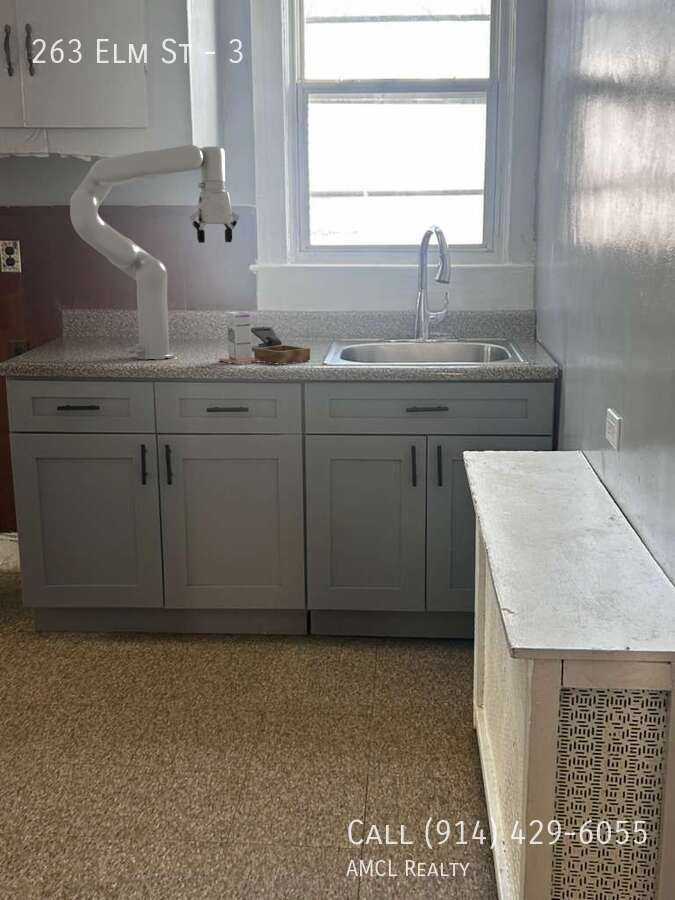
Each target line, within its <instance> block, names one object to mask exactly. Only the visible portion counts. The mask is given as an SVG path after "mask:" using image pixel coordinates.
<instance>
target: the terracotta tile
mask: <svg viewBox="0 0 675 900" xmlns="http://www.w3.org/2000/svg"><path fill="white" fill-rule="evenodd" d="M219 361H223V362H222V363H224V362H231V363H237V364H242V363H249V362H257V361H261V359H259V358H254V356H252V359H244V360H235V359H232V358H229V356H227V357H219V358H218V362H219ZM231 363H230V364H231ZM237 364H236V365H237ZM242 365H243V364H242Z"/></svg>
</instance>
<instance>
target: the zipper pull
mask: <svg viewBox="0 0 675 900" xmlns="http://www.w3.org/2000/svg"><path fill="white" fill-rule="evenodd" d="M252 333H253V335H254V336H256V337H257V338H258V339H259V340H261V342H262V343H258V347H257V348H262V347H270V346H279V345H283V343H282V341H281V340H280V338H279V337H278V336H277V334H276V333H275V331H274V329H273V328H272V326H270V327H269V326H260V327H258V326H257V327H251V334H252Z"/></svg>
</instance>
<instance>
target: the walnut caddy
mask: <svg viewBox="0 0 675 900" xmlns="http://www.w3.org/2000/svg"><path fill="white" fill-rule="evenodd" d="M253 350H254V351H253V354H254V355H253V357H254V358H259V359H261V361H265V362H271V363H278V364H284V363H292V364H294V363H293V362H300V363H302V362H301V361H307V362H309V361H308V360H310V361H311V348H309V347H302V346H297V345H296V346H293V345H287V344H281V345H279V346H270V347H262V348H258V347H256V348H255V347H254V348H253Z"/></svg>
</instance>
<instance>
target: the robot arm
mask: <svg viewBox="0 0 675 900" xmlns="http://www.w3.org/2000/svg"><path fill="white" fill-rule="evenodd" d="M225 153H226V151H225V150H224V148H223V147H221V146H204V147H198V146H196V145H194V144H185V145H180V146H179V145H178V146H175V147H174V146H173V147H168V148H163V149H157V150H147V151H144V150H143V151H139V152H133V153H128V154H123V155H115V156H111V157H106V158H100V159H99V160H96V161H95V162H94V164H92V166H91V168H90V170H88V171H89V172H88V173H87V174H86V176H85V177H84V179H83V180H82V181H81V183H80V184H79V186H78V187H77V189H75V191H74V192H73V194H72V196H71V197H70V202H69V203H70V205H69V207H70V208H69V211H70V212H69V214H70V220H71V224H72V226H73V228H74V230H75V231H76V233H77V235H78V236H79V237H80V238H81V239H82V240H83V241H85V242H86V243H87V244H88V245H89V246H91V247H92V248H93V249H94V250H96V251H98V253H100V254H101V255H103V256H104V257H105V258H106V259H108V261H109V262H110V263H111V264H112V265H114V266H115V267H117V268H118V269H120V271H122V272H124V273H125V274H126V275H128V276H129V277H130V278H132V279H133V280H135V281H136V306H137V325H138V327H137V329H138V343H135V346H132V347H126V349H125V352H126V354H128V355H129V354H131V355H132V354H134V358H135V359H136V360H137V359H139V360H148V359H155V360H166V359H165V358H168V359H171V358H174V357H175V353H174V352H173V351H170V336H169V335H170V334H169V330H170V329H169V309H168V271H167V267H166V265H165V264H164V263H163V262H162V261H161V260H160V259H157V258H156V257H154V256H152V254H150V253H148V252H147V251H146V250H144V249H143V248H141V247H140V246H139V245H138V244H136V243H135V242H134V241H133V240H132V239H130V238H128V237H126V236H124V235H123V234H121V233H120V232H119V231H117V230H116V229H114V228H113V227H112V226H111V225H110V224H108V223H107V222H106V221H104V220H103V218H101V216H100V215H99V207H100V205H101V204H102V203H103V201H104V200H105V198H106V197H107V196H108V194H109V192H110V191H111V190H112V188H113V187H116V186H122V185H126V184H132V183H137V182H143V181H149V180H153V179H156V178H158V177H162V176H167V175H171V174H177V173H181V172H187V171H188V172H190V171H197V170H199V171H200V173H201V177H200V178H201V181H200V182H199V183H197V187H198V189H199V188H200V190H201V191H200V192H199V196H198V203H197V204H198V205H197V210H196V211H195V212H193V213H192V214H190V215H189V216H188V218H189V220H190V222H191V224H192V227H194V229H195V230H196V231H197V232H196V235H197V237H196V238H197V239H196V240H197V241H198V243H200V244H203V243H205V240H206V239H205V230H204V228H205V226H206V225H207V224H210V225H211V224H212V225H219V224H220V225H221V224H222V225H223V226H224V227H225V228H226V229H225V230H224V242H225V243H232V240H233V230H234V228H235V227H236V226H237V224H238V221H239V218H240V215H239V214H237V213H235V212H233V211H232V206H231V205H232V204H231V198H230V194H229V191H226V188H227V187H226V157H225V156H226V155H225ZM196 218H198V219H196Z"/></svg>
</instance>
